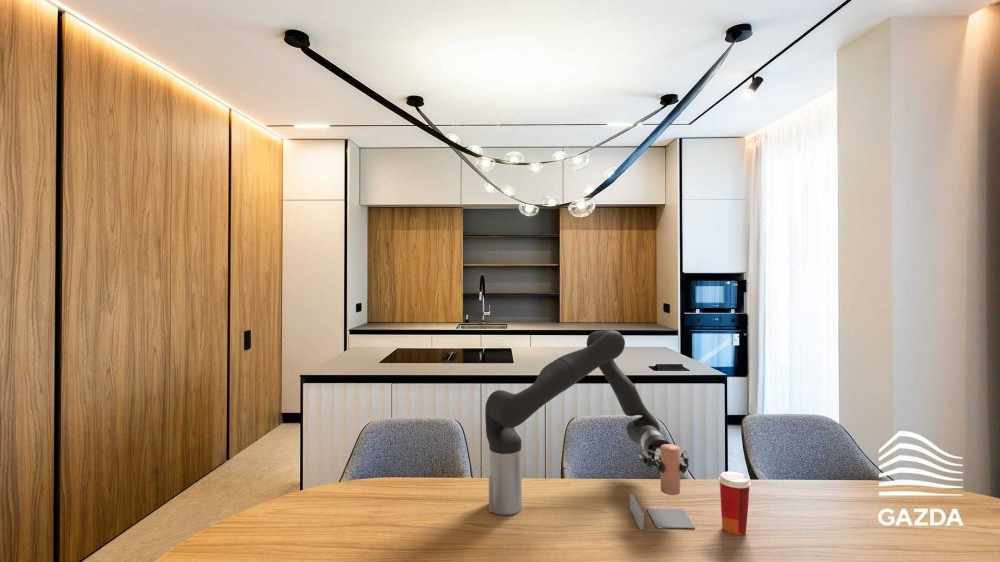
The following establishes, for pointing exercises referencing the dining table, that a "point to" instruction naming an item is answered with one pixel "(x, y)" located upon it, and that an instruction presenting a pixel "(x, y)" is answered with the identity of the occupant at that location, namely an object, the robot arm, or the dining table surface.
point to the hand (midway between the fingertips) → (673, 469)
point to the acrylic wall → (637, 511)
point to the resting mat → (670, 518)
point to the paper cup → (734, 502)
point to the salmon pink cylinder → (670, 469)
